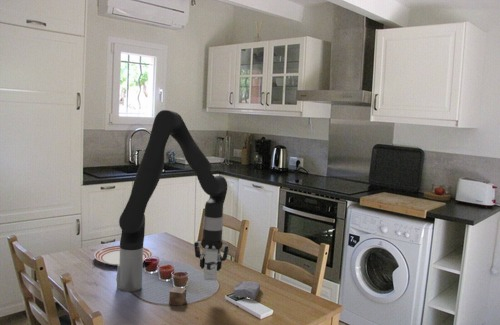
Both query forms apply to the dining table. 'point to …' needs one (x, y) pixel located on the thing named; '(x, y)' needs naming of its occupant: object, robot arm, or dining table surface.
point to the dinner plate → (116, 255)
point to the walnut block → (177, 296)
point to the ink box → (210, 264)
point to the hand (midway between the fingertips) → (210, 269)
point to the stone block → (247, 289)
